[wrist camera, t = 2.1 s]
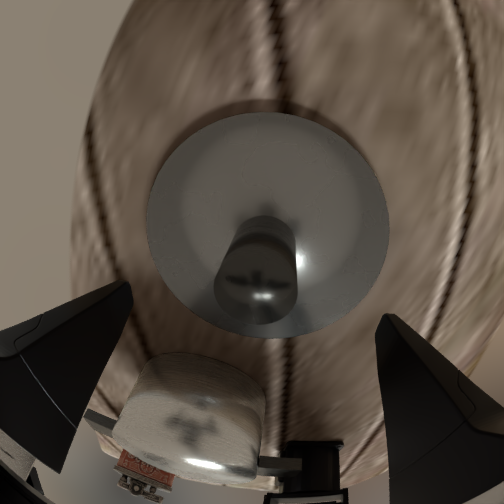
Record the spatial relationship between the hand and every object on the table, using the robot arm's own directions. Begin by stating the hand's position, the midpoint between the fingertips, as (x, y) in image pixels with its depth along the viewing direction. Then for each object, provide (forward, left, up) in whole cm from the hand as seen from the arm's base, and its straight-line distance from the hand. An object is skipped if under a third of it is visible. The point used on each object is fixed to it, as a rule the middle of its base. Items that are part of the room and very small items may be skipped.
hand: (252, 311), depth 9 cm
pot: (+4, +15, -6) cm, 16 cm away
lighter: (+12, +32, -6) cm, 35 cm away
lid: (0, 0, -6) cm, 6 cm away
